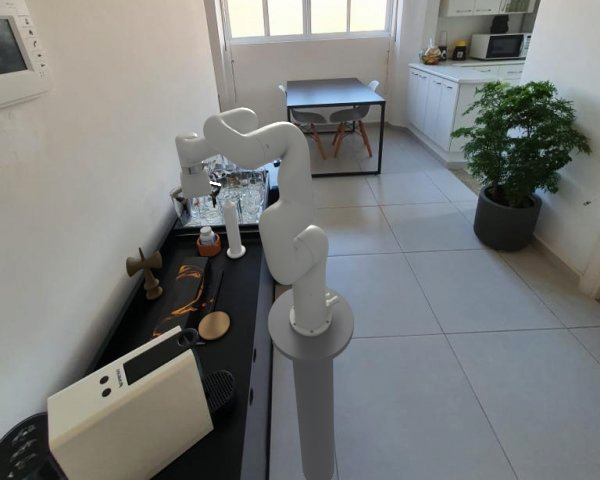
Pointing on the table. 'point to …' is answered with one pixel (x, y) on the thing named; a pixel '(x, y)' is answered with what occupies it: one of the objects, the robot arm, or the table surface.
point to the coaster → (214, 325)
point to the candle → (232, 230)
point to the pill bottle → (207, 236)
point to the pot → (209, 247)
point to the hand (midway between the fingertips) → (201, 208)
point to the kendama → (146, 272)
